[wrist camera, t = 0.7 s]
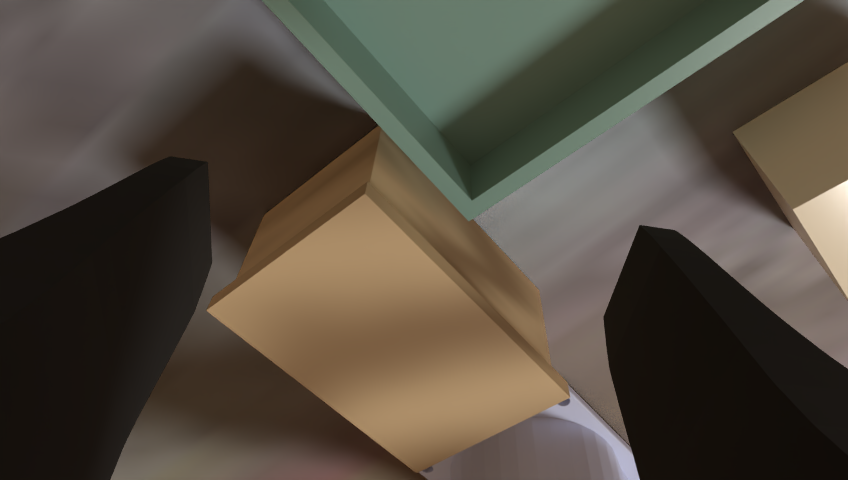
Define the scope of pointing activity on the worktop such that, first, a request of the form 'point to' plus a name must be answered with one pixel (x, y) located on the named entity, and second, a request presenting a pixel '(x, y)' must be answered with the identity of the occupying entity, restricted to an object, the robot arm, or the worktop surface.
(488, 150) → the tray
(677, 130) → the worktop surface
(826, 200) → the sandstone cube
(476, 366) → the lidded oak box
